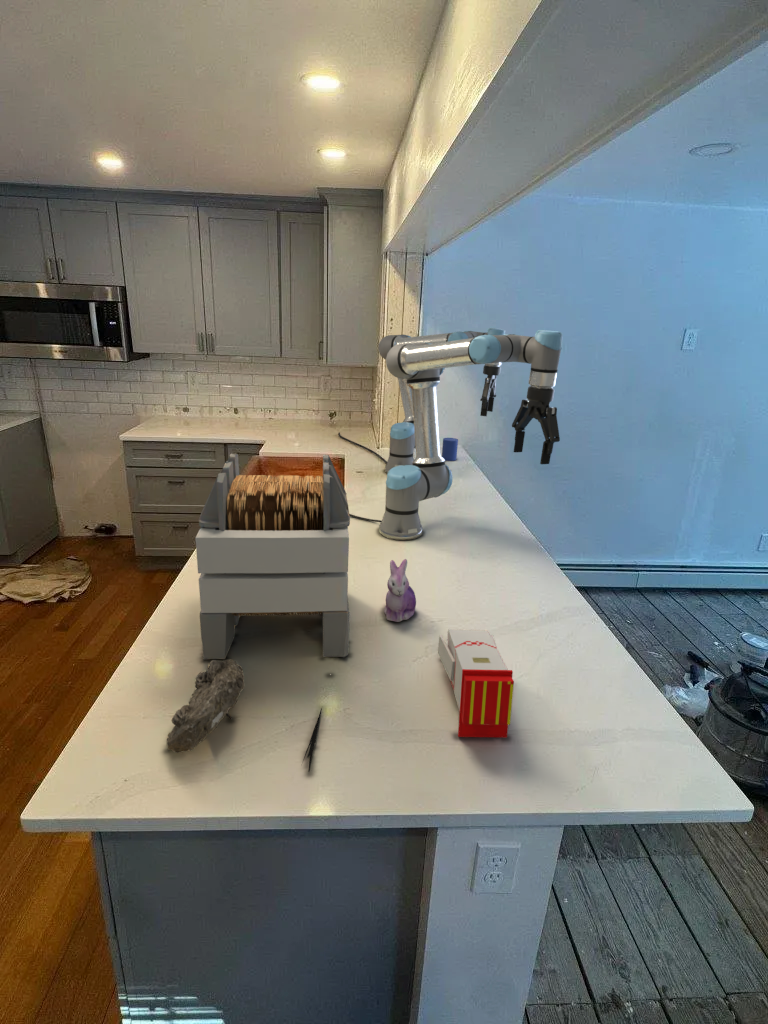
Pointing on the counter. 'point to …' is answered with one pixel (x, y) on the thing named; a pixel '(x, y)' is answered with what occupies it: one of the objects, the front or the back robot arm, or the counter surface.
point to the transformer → (273, 554)
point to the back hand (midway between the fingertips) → (486, 413)
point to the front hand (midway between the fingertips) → (530, 457)
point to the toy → (478, 682)
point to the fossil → (206, 705)
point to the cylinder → (449, 449)
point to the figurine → (399, 594)
